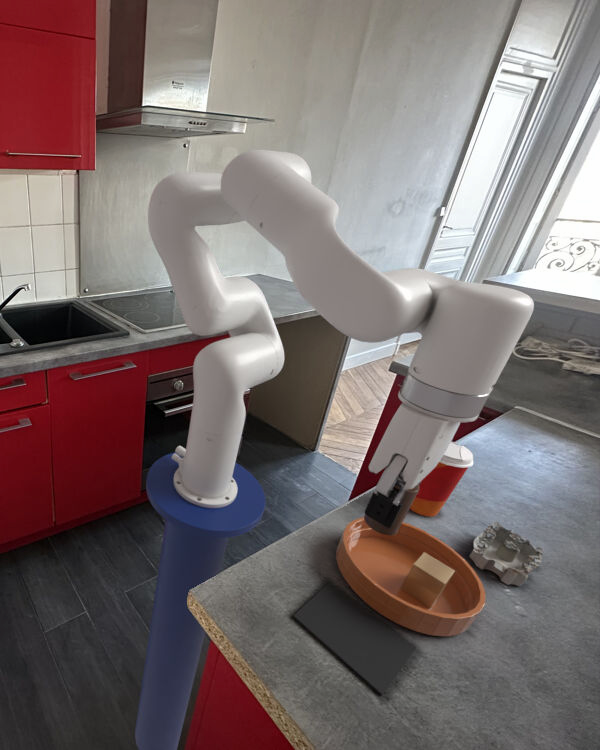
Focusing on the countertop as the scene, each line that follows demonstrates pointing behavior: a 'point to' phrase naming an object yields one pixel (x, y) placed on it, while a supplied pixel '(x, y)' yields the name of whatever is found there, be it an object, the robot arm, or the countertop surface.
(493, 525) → the egg carton
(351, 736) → the countertop surface
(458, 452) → the paper cup
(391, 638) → the mat
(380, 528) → the walnut cylinder
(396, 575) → the pan
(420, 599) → the birch block
